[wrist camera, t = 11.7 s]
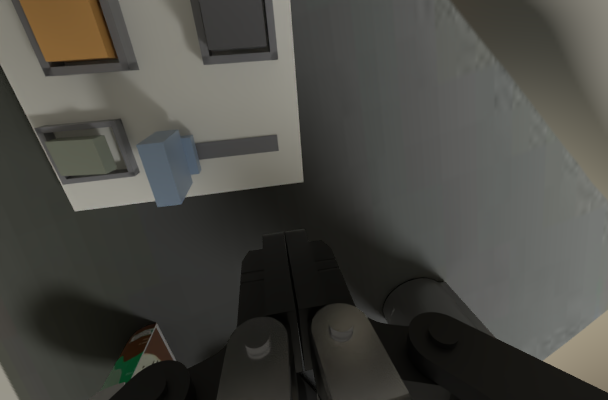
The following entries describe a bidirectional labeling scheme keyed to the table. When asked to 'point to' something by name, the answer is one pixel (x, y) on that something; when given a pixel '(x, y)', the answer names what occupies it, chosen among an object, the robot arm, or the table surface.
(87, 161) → the olive rocker
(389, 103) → the table surface
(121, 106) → the control panel
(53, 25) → the orange push button
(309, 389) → the portable speaker
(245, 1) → the gray push button
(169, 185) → the blue paddle
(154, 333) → the food container
